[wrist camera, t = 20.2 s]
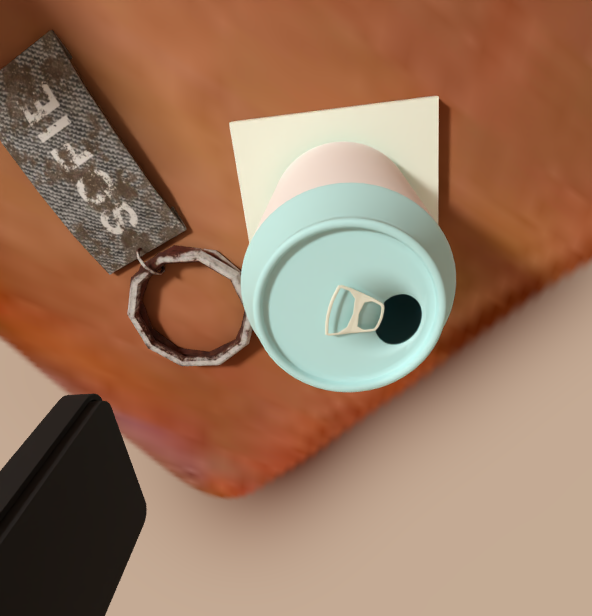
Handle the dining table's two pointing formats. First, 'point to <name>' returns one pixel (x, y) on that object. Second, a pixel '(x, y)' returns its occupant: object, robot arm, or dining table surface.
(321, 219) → the can
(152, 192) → the keychain
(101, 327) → the dining table surface
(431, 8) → the dining table surface
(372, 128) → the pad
